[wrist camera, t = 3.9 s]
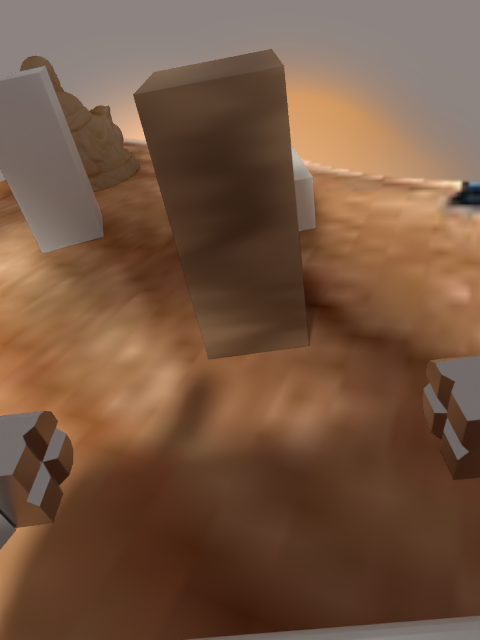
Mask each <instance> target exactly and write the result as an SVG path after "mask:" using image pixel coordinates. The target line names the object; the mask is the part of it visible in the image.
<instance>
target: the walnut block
mask: <svg viewBox="0 0 480 640" xmlns="http://www.w3.org/2000/svg"><path fill="white" fill-rule="evenodd" d="M133 96H134V99H135V103H136V107H137V110H138V114H139V117H140V121H141V124H142V127H143V131H144V134H145V138H146V142H147V145H148V149H149V152H150V156H151V159H152V163H153V166H154V170H155V173H156V177H157V180H158V184H159V187H160V191H161V194H162V198H163V201H164V205H165V208H166V212H167V215H168V219H169V222H170V226H171V229H172V233H173V236H174V240H175V243H176V247H177V250H178V254H179V258H180V261H181V265H182V268H183V272H184V275H185V279H186V282H187V286H188V289H189V293H190V296H191V300H192V303H193V307H194V310H195V314H196V317H197V321H198V324H199V328H200V331H201V335H202V338H203V342H204V345H205V349H206V352H207V356H208V359H216V358H223V357H231V356H238V355H245V354H253V353H260V352H267V351H274V350H282V349H289V348H296V347H303V346H309V338H308V327H307V316H306V305H305V294H304V283H303V272H302V261H301V250H300V238H299V227H298V216H297V205H296V194H295V183H294V172H293V161H292V150H291V139H290V127H289V116H288V105H287V94H286V83H285V73H284V65H283V64H282V63H281V61H280V60H279V58H278V57H277V56H276V54H275V53H274V52H273V50H272V49H270V50H265V51H260V52H254V53H249V54H244V55H240V56H234V57H229V58H224V59H219V60H214V61H209V62H203V63H198V64H193V65H188V66H183V67H178V68H173V69H168V70H163V71H157V72H154V73H153V74H152V75H151V76H150V77H149V78H148V79H147V80H146V81H145V83H144V84H143V85H142V86H141V87H140V88H139V89H138V90H137V91H136V92H135V93H134V94H133Z"/></svg>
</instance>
